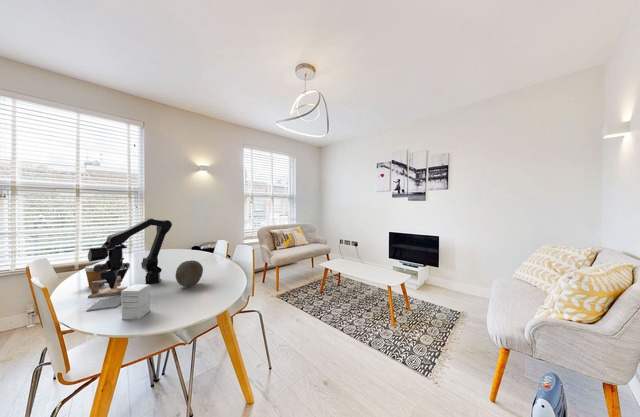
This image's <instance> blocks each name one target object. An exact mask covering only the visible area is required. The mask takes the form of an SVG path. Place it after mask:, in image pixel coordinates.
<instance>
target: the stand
mask: <svg viewBox="0 0 640 417" xmlns="http://www.w3.org/2000/svg"><path fill="white" fill-rule="evenodd" d="M117 282H121V283H122V282H123V280H122V279H118V280H117ZM98 284H104V285H105V284H108V282H107V281H106V280H103V281H93V282H91V288H90V290H91V293H90V294H89V295H87V298H88V299H90V298H99V297H100V298H101V297H107V296H114V295H116V296H117V295H118V296H119V295H121V291H122V290H124V289H126V288H128V286H123V287H121V286H120V287H117V289H113V290H111V288H103V289H99V287H98Z"/></svg>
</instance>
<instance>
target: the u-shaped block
mask: <svg viewBox="0 0 640 417" xmlns="http://www.w3.org/2000/svg"><path fill="white" fill-rule="evenodd" d="M118 279H121V276H118V278H117V280H118ZM117 280H116V283H115V286H114V288H113V289H117V288H119V287H121V286H122V282H117ZM110 289H111V288H110ZM113 289H111V290H113Z"/></svg>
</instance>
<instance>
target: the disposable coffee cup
mask: <svg viewBox="0 0 640 417" xmlns="http://www.w3.org/2000/svg"><path fill="white" fill-rule="evenodd" d="M98 264H100V265H101V264H102V263H94V264H89V265H86V266H85V267H84V270H83V271H85V274H86V278H87V284H88V287H89V288H90V289H91V282H93V281H103V280H105V279H102V278H100V274H101V273H102V272H104V271H106V270H103V271H100V272H98V273H96V272H95V271H93V270H94V269H93V268H94V266H96V265H98ZM104 285H105V284H98V288H99V287H102V286H104Z"/></svg>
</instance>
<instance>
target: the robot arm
mask: <svg viewBox="0 0 640 417" xmlns="http://www.w3.org/2000/svg"><path fill="white" fill-rule="evenodd" d="M172 225H173V223H172V221H170V220H168V219H160V220H159V219H154V218H150V217H148V218H145V219H144V220H142V221H141V222H138V223H136V224H135V225H133V226H130V227H129V228H127V229H125V230H122V231H119V232H115V233H112V234H110V235H108V236H107V238H106V241H105V242H104V243H103V244H102V245H101V246H100V247H89V249H88V252H87V253H88V254H87V259H88V261H89V262H97V261H103V260H105V259H107V258H108V260H106V261H105V263H97V264H98V265H96V266H94V268H93V269H94V270H93V271H95V272H96V273H98V272H100V271H103V270H106V271H104V272H102V273H101V274H100V278H102V279H105V280H106V281H107V282H108V283H107V284H108V286H109V289H113V288H114V286H115V283H116V280H117V278H118V276H121V279H122V281H123V280H124V278H125V276H126V275H127V272H128V271H129V269H130V268H131V265H130V263H129V262H123V261H124V260H125V257H124V256H123V249H127V248H128V246H126V245H125V244H124V243H125V242H126V241H127V240H128V239H129V238H130V237H132V236H134V235H135V234H137V233H139V232H141V231H143V230H145V229H147V228H149V227H150V226H155V227H156V234H155V237H154V239H153V242H152V245H151V249H150V251H149V252H148V255H147V257H142V262H141V263H140V265H141V269H142V270H144V271H145V272H146V274H145V277H144V278H145V279H144V280H145V284H148V285H150V284H151V285H152V284H158V283H159V282H161V280H162V278H161V273H162V270H163V268H161V267H159V266H158V264H159V260H158V259H159V258H158V256H159V255H160V251H161V248H162V246H163V242H164V240H165V237H166V235H167V234H168V232H169V231H170V230H171V228H172ZM100 264H101V265H100ZM145 284H144V285H145Z"/></svg>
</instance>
